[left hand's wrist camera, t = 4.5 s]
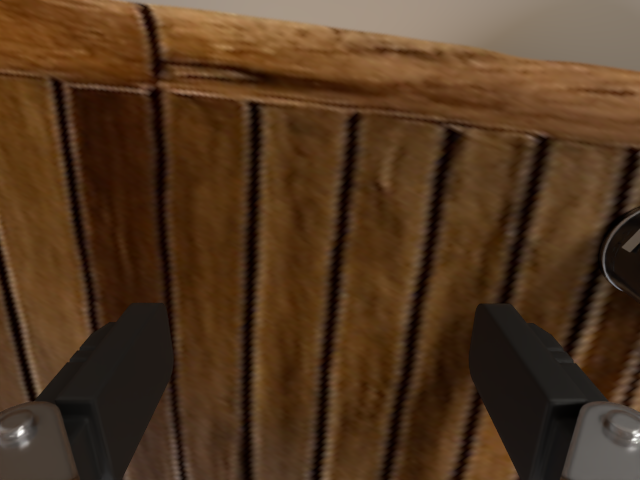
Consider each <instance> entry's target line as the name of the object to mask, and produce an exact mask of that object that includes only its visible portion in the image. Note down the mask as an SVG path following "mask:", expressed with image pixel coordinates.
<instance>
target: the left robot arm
mask: <svg viewBox="0 0 640 480" xmlns="http://www.w3.org/2000/svg"><path fill="white" fill-rule="evenodd" d="M599 263H600V268H601V271H602V273H603V275H604V277H605V278H606V279H607V280H608V281H609V282H610V283H611V284H612V285H614V286H615V287H616V288H618V289H619V290H621V291H623V292H625V293H626V294H628V295H629V296H630V297H632V298H633V299H634V300H635V301H637V302H638V303H639V304H640V207H639V208H636V209H634V210H632V211H631V212H629V213H627V214H626V215H625V216H623V217H622V218H621V219H619V220H618V221H617V222H616V223H615V224H614V225H613V227H612V228H611V229H610V230H609V232H608V233H607V235H606V236H605V238H604V240H603V243H602V245H601V249H600V254H599ZM469 368H470V374H471V377H472V380H473V382H474V384H475V386H476V388H477V390H478V392H479V394H480V396H481V398H482V401H483V403H484V405H485V407H486V409H487V411H488V413H489V415H490V417H491V419H492V421H493V423H494V425H495V427H496V429H497V431H498V433H499V436H500V438H501V440H502V442H503V444H504V446H505V448H506V450H507V452H508V454H509V456H510V458H511V460H512V462H513V464H514V466H515V469H516V471H517V473H518V475H519V477H520V479H521V480H640V412H638V411H636V410H634V409H632V408H629V407H627V406H624V405H621V404H617V403H613V402H609V401H608V400H607V399H606V398H605V397H604V395H603V394H602V393H601V392H600V391H599V390H598V389H597V387H596V386H595V385H594V384H593V383H592V382H591V380H590V379H589V378H588V377H587V376H586V375H585V373H584V372H583V371H582V370H581V369H580V368H579V366H578V365H577V364H576V363H573V359H572V358H571V357H570V356H569V355H568V354H567V352H564V351H563V348H562V347H561V345H560V344H559V343H558V342H557V341H556V340H555V339H554V337H553V336H552V335H551V334H549V333H548V332H546V331H544V330H543V329H541V328H540V327H538V326H537V325H535V324H534V323H526V322H525V321H524V319H523V318H522V317H521V316H520V314H519V313H518V312H517V311H516V309H515V308H514V307H513V306H512V305H511V304H479V305H478V306H477V308H476V312H475V319H474V325H473V332H472V338H471V345H470V352H469ZM172 369H173V349H172V342H171V336H170V329H169V322H168V316H167V310H166V307H165V305H164V304H163V303H132V304H131V305H130V306H129V307H128V308H127V309H126V311H125V312H124V313H123V314H122V316H121V317H120V318H119V319H118V321H117V322H109V323H108V324H106V325H105V326H103V327H102V328H100V329H99V330H97V331H95V332H94V333H92V334H91V335H90V336H89V337H88V339H87V340H86V341H85V342H84V343H83V344H82V346H81V347H80V350H79V351H77V352H76V353H75V354H74V355H73V356H72V357H71V359H70V362H67V363H66V364H65V366H64V367H63V368H62V369H61V370H60V371H59V373H58V374H57V375H56V376H55V377H54V379H53V380H52V381H51V382H50V383H49V384H48V386H47V387H46V388H45V389H44V390H43V391H42V393H41V394H40V395H39V396H38V397H37V398H36V400H35V401H34V402H27V403H23V404H19V405H16V406H13V407H11V408H8V409H6V410H4V411H2V412H0V480H122V478H123V476H124V473H125V471H126V469H127V467H128V465H129V463H130V461H131V459H132V457H133V455H134V453H135V451H136V448H137V446H138V444H139V442H140V440H141V438H142V436H143V434H144V432H145V430H146V428H147V425H148V423H149V421H150V419H151V417H152V415H153V413H154V411H155V409H156V407H157V405H158V403H159V400H160V398H161V396H162V394H163V392H164V390H165V388H166V386H167V384H168V382H169V380H170V377H171V374H172Z"/></svg>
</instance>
